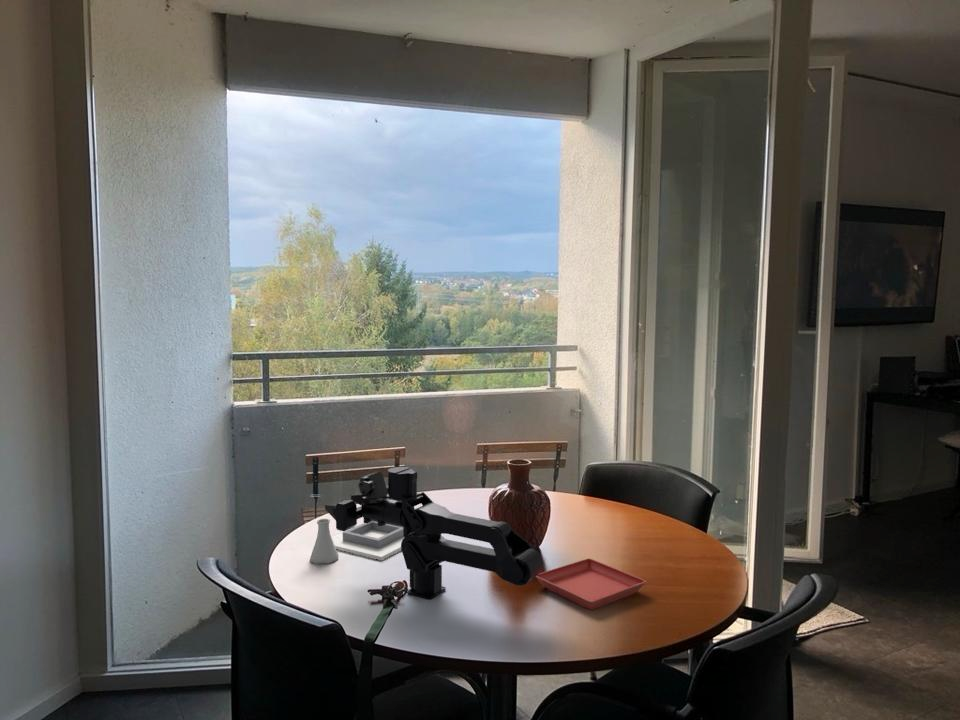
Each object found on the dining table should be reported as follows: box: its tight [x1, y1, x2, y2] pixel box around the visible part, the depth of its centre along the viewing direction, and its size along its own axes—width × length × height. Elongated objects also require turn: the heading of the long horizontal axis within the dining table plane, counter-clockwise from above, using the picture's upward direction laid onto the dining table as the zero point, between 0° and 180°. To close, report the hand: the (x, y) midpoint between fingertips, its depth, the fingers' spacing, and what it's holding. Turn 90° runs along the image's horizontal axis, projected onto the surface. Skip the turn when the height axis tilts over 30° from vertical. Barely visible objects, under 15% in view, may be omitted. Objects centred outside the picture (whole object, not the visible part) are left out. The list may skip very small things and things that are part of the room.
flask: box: [309, 518, 339, 564], centre depth 180 cm, size 7×7×10 cm
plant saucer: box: [535, 557, 647, 610], centre depth 163 cm, size 18×18×3 cm
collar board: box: [331, 521, 405, 561], centre depth 193 cm, size 20×20×3 cm
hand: (338, 502), depth 173 cm, fingers open, 9 cm apart
